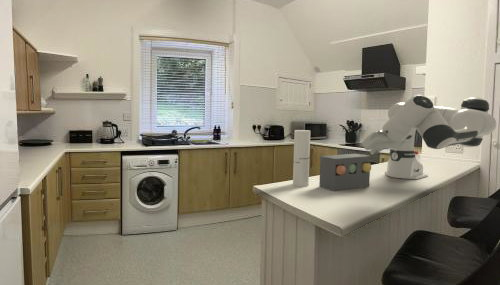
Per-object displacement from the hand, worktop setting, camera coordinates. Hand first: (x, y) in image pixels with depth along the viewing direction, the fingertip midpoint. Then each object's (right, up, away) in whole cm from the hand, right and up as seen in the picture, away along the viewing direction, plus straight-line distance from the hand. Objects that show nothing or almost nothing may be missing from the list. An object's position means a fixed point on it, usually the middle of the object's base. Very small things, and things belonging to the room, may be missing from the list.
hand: (372, 153), depth 139 cm
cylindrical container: (-27, -15, +16) cm, 35 cm away
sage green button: (-6, -9, +12) cm, 16 cm away
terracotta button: (-12, -9, +6) cm, 17 cm away
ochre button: (+2, -9, +14) cm, 17 cm away
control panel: (-8, -16, +15) cm, 23 cm away
